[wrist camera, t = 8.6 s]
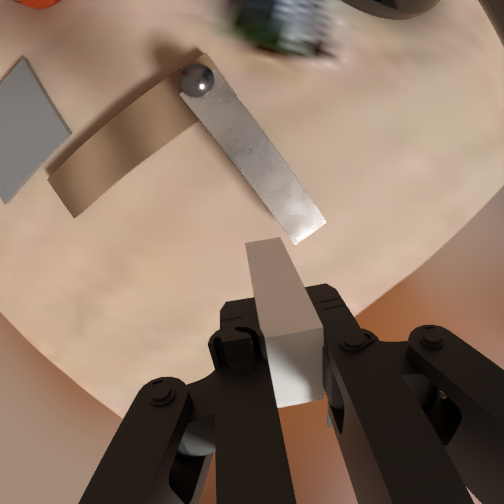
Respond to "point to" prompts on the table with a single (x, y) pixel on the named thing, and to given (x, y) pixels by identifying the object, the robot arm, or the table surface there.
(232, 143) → the bar
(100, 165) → the base
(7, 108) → the slate pad
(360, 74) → the table surface
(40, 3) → the coffee cup
